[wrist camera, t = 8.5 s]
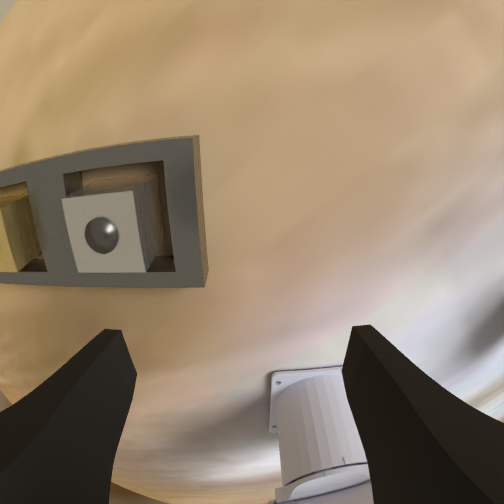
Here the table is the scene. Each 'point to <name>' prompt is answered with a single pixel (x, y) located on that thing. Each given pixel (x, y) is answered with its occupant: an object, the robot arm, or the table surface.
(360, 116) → the table surface
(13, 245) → the tan wooden cube
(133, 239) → the cube with domed knob
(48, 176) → the grey rectangular slotted frame
